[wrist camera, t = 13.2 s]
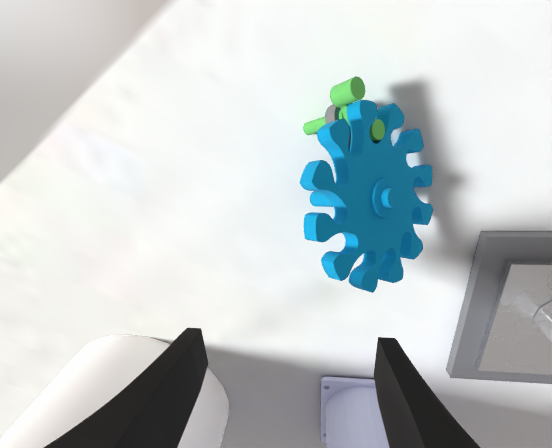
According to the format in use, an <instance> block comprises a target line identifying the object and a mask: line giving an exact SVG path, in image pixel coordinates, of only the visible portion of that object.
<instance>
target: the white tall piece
mask: <svg viewBox="0 0 552 448" xmlns="http://www.w3.org/2000/svg"><path fill="white" fill-rule="evenodd" d="M170 345H171V344H169V343H166V342H163V341H160V340H157V339H154V338H151V337H144V336H137V335H129V334H124V335H112V336H105V337H103V338H100V339H97V340H95V341H92V342H90V343H89V344H88V345H86V346H85V347H84V348H83V349H82V350H81V351H79V352H78V354H77V355H76V356H75V357H74V358H73V359H72V360H71V361H70V362H69V363H68V365H67V366H66V367H65V368H64V369H63V370H62V371H61V372H60V373H59V375H58V376H57V377H56V378H55V379H54V380H53V381H52V382H51V383H50V385H49V386H48V387H47V388H46V389H45V390H44V391H43V392H42V393H41V394H40V396H39V397H38V398H37V399H36V400H35V401H34V402H33V403H32V404H31V406H30V407H29V408H28V409H27V410H26V411H25V412H24V413H23V414H22V415H21V417H20V418H19V419H18V420H17V421H16V422H15V423H14V424H13V425H12V427H11V428H10V429H9V430H8V431H7V432H6V433H5V434H4V435H3V437H2V438H1V439H0V448H44V447H45V446H47V445H48V444H50V443H51V442H53V441H54V440H56V439H57V438H59V437H61V436H62V435H64V434H65V433H66V432H68V431H69V430H71V429H72V428H73V427H75V426H76V425H78V424H79V423H81V422H82V421H83V420H85V419H86V418H88V417H89V416H90V415H92V414H93V413H94V412H96V411H97V410H98V409H100V408H101V407H102V406H104V405H105V404H106V403H107V402H109V401H110V400H111V399H112V398H114V397H115V396H116V395H117V394H118V393H120V392H121V391H122V390H123V389H124V388H125V387H126V386H128V385H129V384H130V383H131V382H132V381H133V380H134V379H135V378H136V377H138V376H139V375H140V374H141V373H142V372H143V371H144V370H145V369H146V368H147V367H148V366H149V365H150V364H151V363H152V362H153V361H154V360H156V359H157V358H158V357H159V356H160V355H161V354H162V353H163V352H164V351H165V350H166V349H167V348H168V347H169V346H170ZM228 417H229V400H228V398H227V395H226V393H225V390H224V388H223V385H222V384H221V383H220V381H219V380H218V379H217V378H216V376H215V375H214V374H213V373H212V371H211V370H210V369H209V368H207V370H206V374H205V377H204V381H203V384H202V388H201V390H200V393H199V396H198V398H197V401H196V403H195V406H194V408H193V410H192V413H191V415H190V418H189V420H188V423H187V425H186V428H185V430H184V433H183V435H182V437H181V440H180V442H179V445H178V447H177V448H220V447H221V443H222V439H223V436H224V432H225V428H226V424H227V421H228Z"/></svg>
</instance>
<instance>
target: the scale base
mask: <svg viewBox="0 0 552 448" xmlns="http://www.w3.org/2000/svg"><path fill="white" fill-rule="evenodd" d="M506 260H552V231H481V233H480V237H479V241H478V245H477V249H476V253H475V257H474V261H473V265H472V269H471V273H470V277H469V281H468V285H467V289H466V293H465V297H464V301H463V305H462V309H461V313H460V317H459V321H458V325H457V329H456V333H455V337H454V340H453V344H452V348H451V352H450V356H449V360H448V364H447V368H446V370H447V372H448V374H449V376H450V378H463V379H479V380H495V381H512V382H528V383H544V384H552V375H547V374H530V373H513V372H496V371H478V369H477V368H476V366H475V364H474V363H475V360H476V357H477V354H478V350H479V347H480V344H481V340H482V337H483V334H484V330H485V327H486V324H487V321H488V317H489V314H490V311H491V307H492V304H493V301H494V297H495V294H496V291H497V287H498V284H499V281H500V278H501V274H502V271H503V268H504V264H505V261H506Z"/></svg>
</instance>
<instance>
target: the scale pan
mask: <svg viewBox="0 0 552 448" xmlns="http://www.w3.org/2000/svg"><path fill="white" fill-rule="evenodd" d="M551 301H552V260H506V261H505V264H504V268H503V271H502V274H501V278H500V281H499V284H498V287H497V291H496V294H495V297H494V301H493V304H492V307H491V311H490V314H489V317H488V321H487V324H486V327H485V330H484V334H483V337H482V340H481V344H480V347H479V350H478V354H477V357H476V360H475V363H474V364H475V366H476V368H477V369H478V371H496V372H513V373H530V374H547V375H552V349H551V348H550V347H549V345H548V344H547V343H546V342H545V340H544V339H543V338H542V337H541V335H540V334H539V333H538V331H537V330H536V327H535V324H534V322H533V318H534V316H535V315H536V313H537V311H538V310H539V308H540V307H542V306H544V305H546V304H548V303H549V302H551Z"/></svg>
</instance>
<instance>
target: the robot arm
mask: <svg viewBox="0 0 552 448" xmlns="http://www.w3.org/2000/svg"><path fill="white" fill-rule="evenodd" d="M207 366H208V360H207V356H206V351H205V346H204V341H203V336H202V331H201V329H200V328H187V329H186V330H185V331H184V332H182V333H181V334H180V335H179V336H178V337H177V339H176V340H175V341H174V342H173V343H172V344H171V345H170V346H169V347H168V348H167V349H166V350H165V351H164V352H163V353H162V354H161V355H160V356H159V357H158V358H157V359H156V360H154V361H153V362H152V363H151V364H150V365H149V366H148V367H147V368H146V369H145V370H144V371H143V372H142V373H141V374H140V375H139V376H138V377H136V378H135V379H134V380H133V381H132V382H131V383H130V384H129V385H128V386H126V387H125V388H124V389H123V390H122V391H121V392H120V393H118V394H117V395H116V396H115V397H114V398H112V399H111V400H110V401H109V402H107V403H106V404H105V405H104V406H102V407H101V408H100V409H98V410H97V411H96V412H94V413H93V414H92V415H90V416H89V417H88V418H86V419H85V420H83V421H82V422H81V423H79V424H78V425H76V426H75V427H73V428H72V429H71V430H69V431H68V432H66V433H65V434H64V435H62V436H61V437H59V438H57V439H56V440H54V441H53V442H51V443H50V444H48V445H47V446H45V447H44V448H177V447H178V445H179V442H180V440H181V437H182V435H183V433H184V430H185V428H186V425H187V423H188V420H189V418H190V415H191V413H192V410H193V408H194V406H195V403H196V401H197V398H198V396H199V393H200V390H201V388H202V384H203V381H204V377H205V374H206V370H207ZM374 379H375V380H373V379H357V378H342V377H323V378H322V379H321V442H322V443H324V444H326V447H327V448H480V447H479V446H478V445H477V443H476V442H475V441H474V440H473V439H472V438H471V437H470V436H469V435H468V434H467V433H466V431H465V430H464V429H463V428H462V427H461V426H460V425H459V423H458V422H457V421H456V420H455V419H454V418H453V416H452V415H451V414H450V413H449V412H448V410H447V409H446V408H445V407H444V405H443V404H442V403H441V402H440V400H439V399H438V398H437V397H436V395H435V394H434V393H433V391H432V390H431V389H430V388H429V386H428V385H427V384H426V382H425V381H424V380H423V378H422V377H421V375H420V374H419V373H418V371H417V370H416V368H415V367H414V366H413V364H412V363H411V361H410V360H409V358H408V357H407V355H406V354H405V352H404V351H403V349H402V348H401V346H400V344H399V343H398V341H397V340H396V339H395V338H381V337H378V343H377V352H376V360H375V369H374Z"/></svg>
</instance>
